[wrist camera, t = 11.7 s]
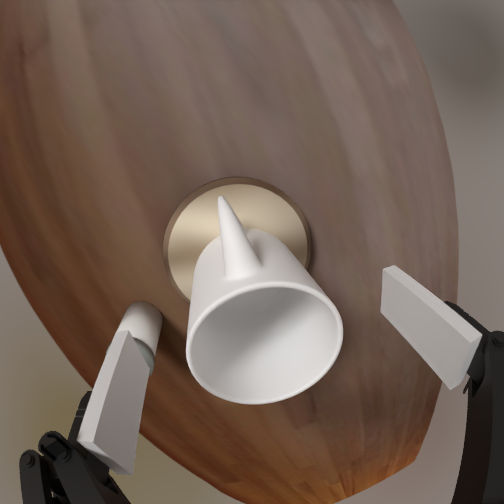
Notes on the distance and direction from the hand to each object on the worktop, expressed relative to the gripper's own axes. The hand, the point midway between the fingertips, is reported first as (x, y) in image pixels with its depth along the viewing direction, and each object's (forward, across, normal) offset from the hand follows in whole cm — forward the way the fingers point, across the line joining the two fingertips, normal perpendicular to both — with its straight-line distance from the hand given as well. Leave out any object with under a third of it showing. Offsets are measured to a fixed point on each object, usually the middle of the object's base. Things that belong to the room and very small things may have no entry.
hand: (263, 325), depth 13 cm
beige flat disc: (+13, 0, -1) cm, 13 cm away
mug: (+11, 0, -1) cm, 11 cm away
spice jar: (+13, -11, -6) cm, 18 cm away
